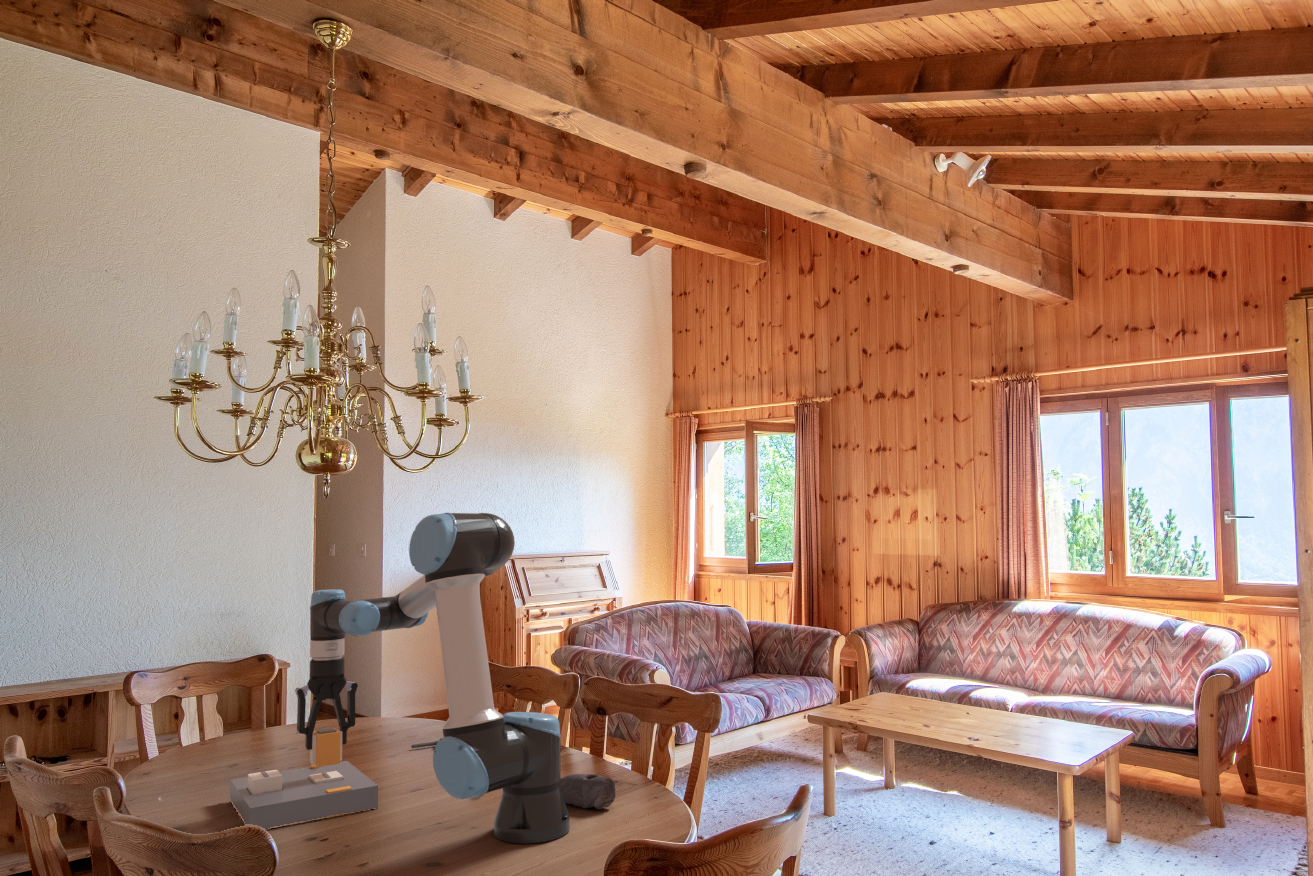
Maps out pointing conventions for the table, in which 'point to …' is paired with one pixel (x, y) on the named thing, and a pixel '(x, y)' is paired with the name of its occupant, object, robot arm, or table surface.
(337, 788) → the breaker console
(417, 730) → the table surface
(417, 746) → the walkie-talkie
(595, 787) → the perforated stone tool
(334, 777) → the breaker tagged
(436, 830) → the table surface
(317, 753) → the cap
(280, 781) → the breaker untagged
